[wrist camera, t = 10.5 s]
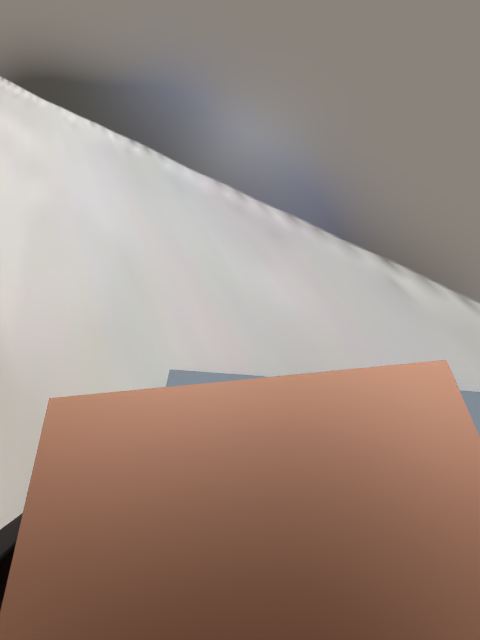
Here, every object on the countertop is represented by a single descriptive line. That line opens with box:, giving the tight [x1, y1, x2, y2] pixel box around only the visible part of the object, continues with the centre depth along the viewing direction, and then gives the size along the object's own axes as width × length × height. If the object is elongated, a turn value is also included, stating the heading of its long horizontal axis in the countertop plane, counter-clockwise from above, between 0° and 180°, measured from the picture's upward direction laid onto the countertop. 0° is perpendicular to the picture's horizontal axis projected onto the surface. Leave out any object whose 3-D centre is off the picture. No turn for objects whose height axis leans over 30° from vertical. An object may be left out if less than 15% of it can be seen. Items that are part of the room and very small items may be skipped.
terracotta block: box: [0, 360, 480, 640], centre depth 8 cm, size 5×5×13 cm
